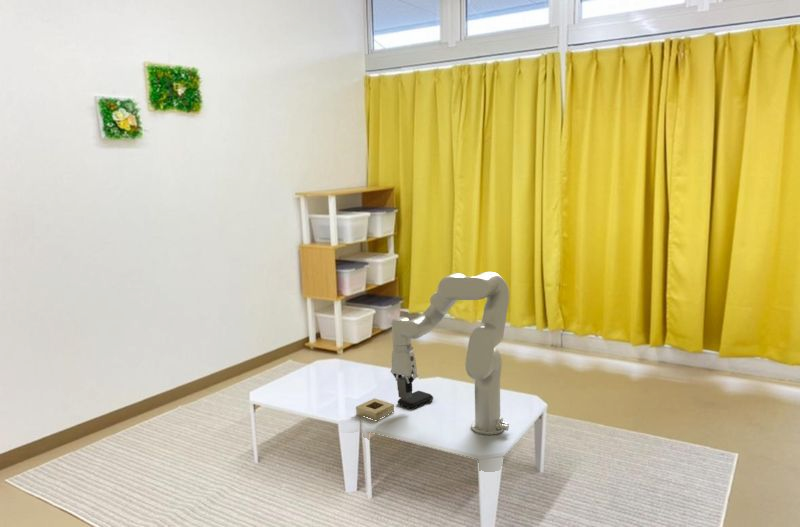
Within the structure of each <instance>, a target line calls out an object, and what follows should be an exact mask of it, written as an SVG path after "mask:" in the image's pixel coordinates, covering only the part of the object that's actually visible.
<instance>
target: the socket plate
mask: <svg viewBox="0 0 800 527" xmlns="http://www.w3.org/2000/svg"><path fill="white" fill-rule="evenodd" d="M355 410H356V412H355V413H356V416H359V417H361V416H365V417H368V418H371V419H373V420H378V419H380V418H382V417H384V416H386V415H388V414H390V413H392V412H394V413H395V405H394V403H392V402H391V403H390V402H388V401H385V400H381V399H377V398H372V399H369V400H368V401H365V402H363V403H361V404H359V405H356V406H355ZM392 414H393V413H392ZM390 415H391V414H390ZM388 416H389V415H388ZM386 417H387V416H386ZM384 418H385V417H384ZM382 419H383V418H382ZM373 420H372V421H373ZM380 420H381V419H380ZM378 421H379V420H378Z"/></svg>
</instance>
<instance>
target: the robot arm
mask: <svg viewBox="0 0 800 527" xmlns="http://www.w3.org/2000/svg"><path fill="white" fill-rule="evenodd" d="M485 298H486V302H485V304H484V307H483V313H482V318H481V322H480V323H479V325H478V326H476V327H475V328H474V329H472V331H471V334H470V336H469V340H468V345H467V351H466V356H465V363H464V364H465V365H464V366H465V371H466V373H467V375H468V376H469V377H470V378H471V379H472V380H474V419H475V420H473V421H472V422H471V424H470V428H471V429H472V431H473V432H475V433H477V434H481V435H486V436H487V435H488V436H489V435H490V436H491V435H492V436H493V435H498V434H500V433H502V432H503V431H506V432H508V431H509V428H510V427H509V426H510V424H509V423H508V422H505V421H504V417H503V416H501V375H502V374H501V373H502V366H503V365H502V364H503V360H502V355H501V353H500V351H499V350H498V348H497V346H498V345H500V343H502V341H503V339H504V334H505V328H506V322H507V315H508V308H509V304H510V289H509V286H508V284H507V282H506V280H505V279H504V278H503V277H502V276H501V275H500V274H498V273H497V272H493V271H484V272H481V273H479V274H477V275H475V276H466V275H465V274H463V273H460V272H455V273H451V274H448V275H446V276H444V277H443V278H441V280H440V281H439V283H438V286H437V289H436V291H435V292H434V293H433V294H432V295H431V296H430V298H429V301H430V302H429V303H430V304H429V306H428V307H427V308H426V309H425V311H424V312H423V313H422V314H421V315H419V316H417V317H415V318H413V319H411V320H410V318H409V317H407V316H397V317H394V318H393V319H392V320H391V333H392V349H393V350H392V353H391V369H390V373H391V374H392V375H393V376H394V378H395V381H396V384H397V385H396V386H397V388H398V378H400V377H402V376H406V381H407V383H406V392H407V393H409V392H411V391H412V392H413V382H414V381H415V380H416V379H417V378H418V377H419V375H418V373H417V360H416V357H415V351H414V350H413V349H414V347H413V345H412V340H417V339H420V338H421V337H423V336H425V335H427V334H429V333H431V331H432V330H434V329H435V328H436V326H437V325H438V324H439V323H440V322H441V321H442V320H444V317H445V316H446V315H447V313H448V312H449V311H450V309H452V307H453V306H454V305H455V304H456V303H457V302H458V301H479V300H484V299H485ZM409 377H410V379H409Z"/></svg>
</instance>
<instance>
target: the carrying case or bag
mask: <svg viewBox="0 0 800 527" xmlns="http://www.w3.org/2000/svg"><path fill="white" fill-rule="evenodd" d="M433 400H434V396H433V395H432V394H431V393H427V392H425V391H422V390H416V391H414V392H412V396H411V397H409V398H407V399H403V398H400V397H399V399H398V400H397V404H398V405H399V406H401V405H402V407H403V406H404V408H406V407H407V409H409V408H410V409H409V410H414V409H416V408H419V407H421V406H423V405H426V404H427V402H428V403H431V402H432V401H433Z"/></svg>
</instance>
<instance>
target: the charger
mask: <svg viewBox="0 0 800 527" xmlns="http://www.w3.org/2000/svg"><path fill="white" fill-rule="evenodd" d="M409 379H410V377H409ZM406 383H407V381H406V376H403V375H402V377H400V378H398V387H397V391H398V394H397V395H398V398H399V399H400V398H403V399H407V398H409V397H411V396H412V393H413V390H412V391H411V392H409V393H407V392H406Z"/></svg>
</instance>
